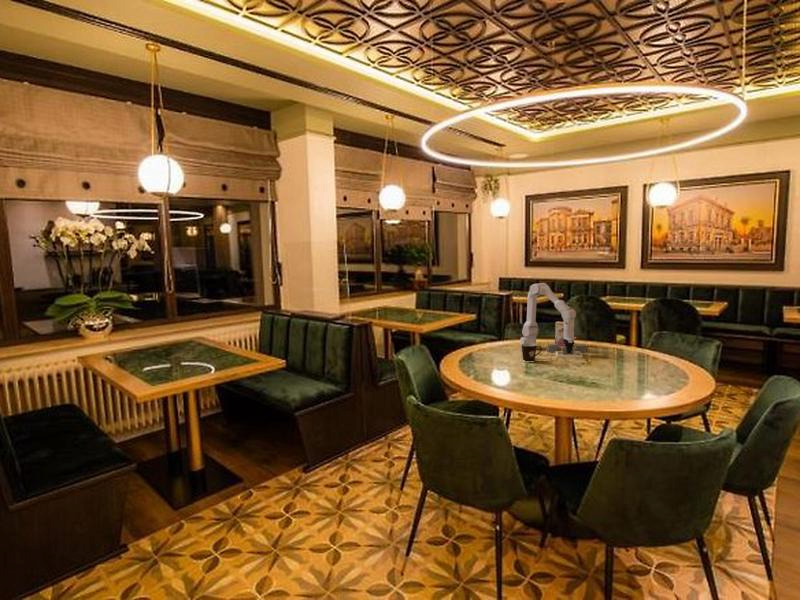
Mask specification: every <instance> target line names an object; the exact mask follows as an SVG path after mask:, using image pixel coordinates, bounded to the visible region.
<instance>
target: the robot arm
mask: <svg viewBox="0 0 800 600" xmlns="http://www.w3.org/2000/svg"><path fill="white" fill-rule="evenodd" d="M540 295H542V296H545V297H547V298H548V299H549V300H550V301H551V302H552V303H553V304H554V308H555V309H556V310H557V311H558V312H559V313H560V314H561V319H562V320H563V321H562V322H564V337H563V338H564V339H563V341H564V343H565V347H566V348H567V353H572V348H573V347H574V346H575V341H574V342H573V339H574V340H575V339H577V337H576V336H575V318H576V317H577V312H576V310H575V309H573V308H571V307H570V306H568V305H567V303H566V302H565V301H564V300H562V299H559V298H558V297H557V296H556V294H555V293H554V292H553V291H552V289H551V288H550V286H549V285H548V283H546V282H540V283H534V284H533V283H532V284H531V285H530V286H529V290H528V292H527V303H526V304H527V306H526V321H525V323H524V324H523V326H522V329H521V330H522V331H521V333H522V335H523V336H522V337H520V341H519V342H520V344H519V345H520V347H521V344H523V343H533V344H536V345H537V336H538V334H539V324H538V323H537V321H536V318H537V302H538V301H537V298H539V296H540ZM573 345H574V346H573ZM520 347H519V348H520ZM521 348H522V347H521ZM521 348H520V349H521Z"/></svg>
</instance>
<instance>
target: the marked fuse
mask: <svg viewBox="0 0 800 600" xmlns="http://www.w3.org/2000/svg"><path fill="white" fill-rule="evenodd" d="M574 347H575V346H573V348H572V353H567V348H566V347H564V346H562V351H563V354H562V355H576V354H575V348H574Z"/></svg>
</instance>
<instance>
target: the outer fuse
mask: <svg viewBox="0 0 800 600" xmlns="http://www.w3.org/2000/svg"><path fill="white" fill-rule="evenodd" d="M574 347H575V351H578V352H581V354H585V353H586V347H587V345H586V344H585V343H584V344H581V343H580V344H579V343H577V344H574Z"/></svg>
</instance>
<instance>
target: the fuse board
mask: <svg viewBox="0 0 800 600" xmlns="http://www.w3.org/2000/svg"><path fill="white" fill-rule="evenodd" d="M573 347H574V348H575V346H573ZM545 349H546V350H545V351H546V352H545V354H549V353H548V346H546V348H545ZM588 350H589V348H588V346H586V353H584V354H590V353H589V351H588ZM559 351H562V346H559Z"/></svg>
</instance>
